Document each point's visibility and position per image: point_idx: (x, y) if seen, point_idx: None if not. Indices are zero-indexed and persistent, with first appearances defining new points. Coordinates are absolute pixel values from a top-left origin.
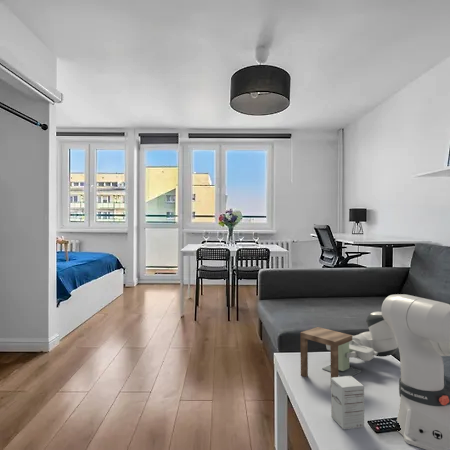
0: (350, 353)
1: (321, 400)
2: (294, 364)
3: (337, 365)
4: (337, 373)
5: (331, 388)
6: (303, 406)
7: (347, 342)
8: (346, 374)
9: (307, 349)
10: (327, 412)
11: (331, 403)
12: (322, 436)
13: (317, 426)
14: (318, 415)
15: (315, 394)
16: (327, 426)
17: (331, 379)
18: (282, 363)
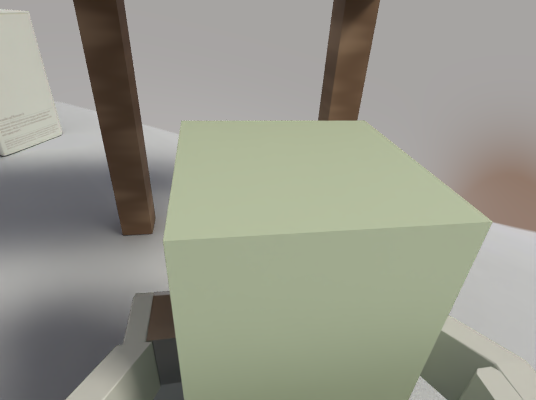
0: (122, 350)
1: None
2: (488, 260)
3: (100, 117)
4: (110, 162)
5: (37, 47)
6: (154, 130)
7: (172, 201)
8: (164, 392)
9: (333, 83)
10: (82, 139)
11: (51, 95)
12: (57, 107)
13: (80, 114)
14: (98, 128)
15: (169, 166)
16: (59, 120)
17: (27, 15)
18: (507, 230)
